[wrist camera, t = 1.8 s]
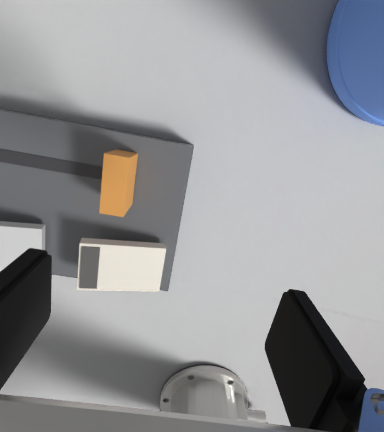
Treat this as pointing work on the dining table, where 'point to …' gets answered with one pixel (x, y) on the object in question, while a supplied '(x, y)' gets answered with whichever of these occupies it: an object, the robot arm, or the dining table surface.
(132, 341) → the dining table surface
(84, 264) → the cream rocker
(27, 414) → the robot arm
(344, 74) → the water jug
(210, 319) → the dining table surface
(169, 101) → the dining table surface
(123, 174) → the orange rectangular prism
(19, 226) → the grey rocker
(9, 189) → the control panel
